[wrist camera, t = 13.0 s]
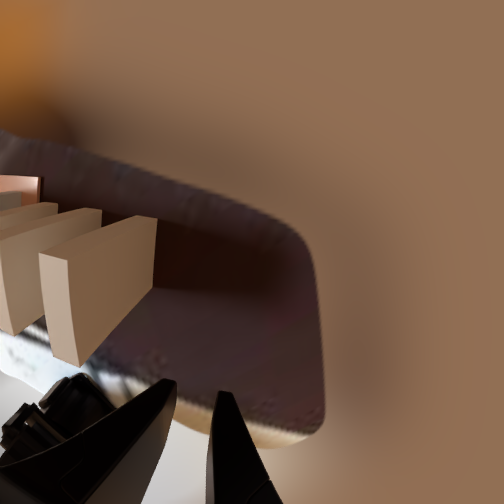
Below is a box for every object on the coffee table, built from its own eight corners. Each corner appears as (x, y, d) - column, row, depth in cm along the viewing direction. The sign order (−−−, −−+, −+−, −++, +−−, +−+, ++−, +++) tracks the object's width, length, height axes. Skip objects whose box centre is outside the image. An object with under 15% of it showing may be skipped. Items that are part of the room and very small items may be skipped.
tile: (41, 280, 20) (38, 281, 20) (4, 266, 20) (1, 267, 20) (41, 176, 18) (38, 177, 18) (2, 174, 18) (0, 175, 17)
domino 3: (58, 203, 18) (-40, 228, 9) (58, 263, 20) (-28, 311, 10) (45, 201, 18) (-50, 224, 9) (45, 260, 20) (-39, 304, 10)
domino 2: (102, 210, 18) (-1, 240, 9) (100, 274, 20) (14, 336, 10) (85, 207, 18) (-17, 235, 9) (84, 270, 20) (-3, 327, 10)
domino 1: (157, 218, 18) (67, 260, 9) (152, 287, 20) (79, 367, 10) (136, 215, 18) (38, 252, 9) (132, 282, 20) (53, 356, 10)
